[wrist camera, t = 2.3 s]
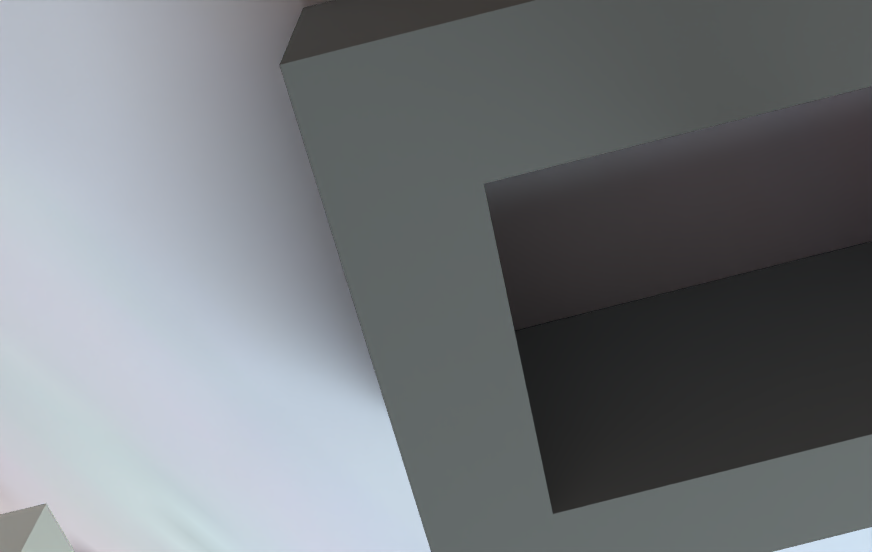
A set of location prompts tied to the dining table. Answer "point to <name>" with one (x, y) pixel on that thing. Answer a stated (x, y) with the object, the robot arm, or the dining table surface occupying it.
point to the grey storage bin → (604, 329)
